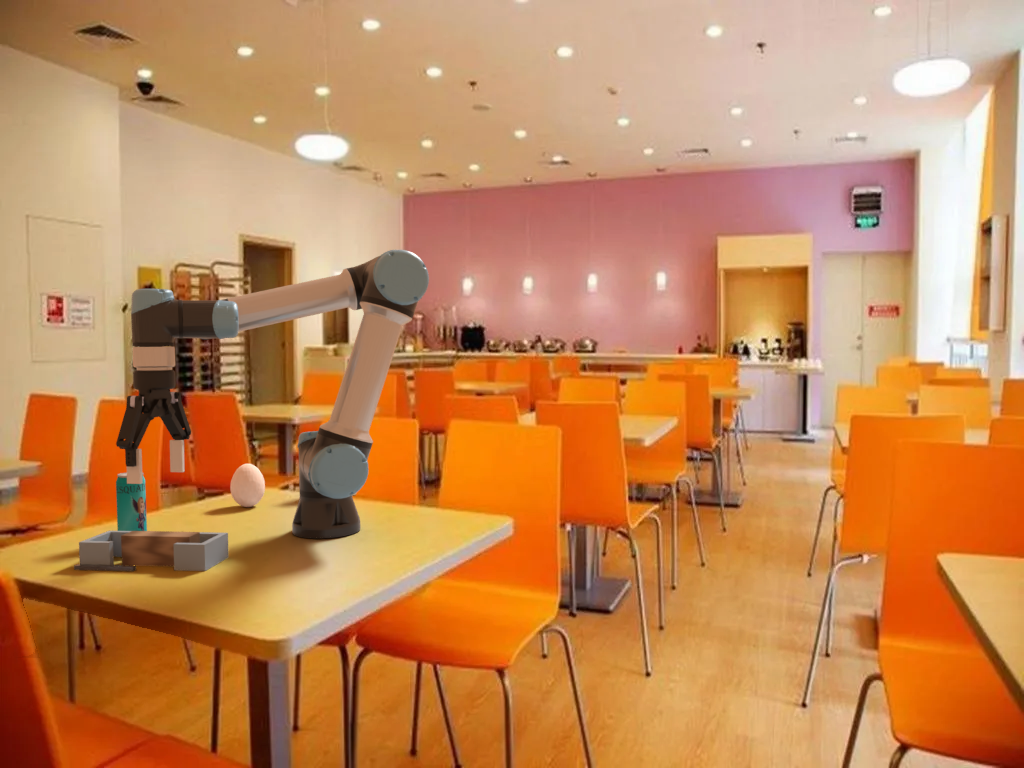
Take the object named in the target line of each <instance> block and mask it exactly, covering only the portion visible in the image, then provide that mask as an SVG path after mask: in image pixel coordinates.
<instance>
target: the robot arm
mask: <svg viewBox="0 0 1024 768" xmlns="http://www.w3.org/2000/svg"><path fill="white" fill-rule="evenodd" d="M429 275H430V274H429V271H428V267H426V264H425V263H424V261H423V260H422V259H421V257H420V256H418V255H417V254H416V253H414V252H412V251H409V250H406V249H389V250H387V251H385V252H383V253H382V254H380V255H379V256H375V257H374V258H371V259H370V260H368V261H366V262H364V263H361V264H359V265H356V266H355V265H354V266H351V267H347V268H344V269H342V271H341V273H339V274H336V275H331V276H327V277H322V278H318V279H313V280H309V281H307V280H306V281H304V282H299V283H294V284H288V285H283V286H279V287H275V288H269V289H265V290H260V291H255V292H251V293H247V294H241V295H237V296H233V297H228V298H223V299H218V300H217V299H216V300H212V299H211V300H209V299H208V300H207V299H206V300H205V299H204V300H201V299H199V300H197V299H196V300H195V299H194V300H191V299H190V300H189V299H188V300H182V299H175V296H174V292H173V291H172V290H171V289H166V288H165V289H164V288H138V289H135V290H134V291H133V292H132V293H131V306H130V307H131V309H130V317H131V319H130V320H131V321H130V322H131V338H132V339H131V340H132V341H131V342H132V344H131V345H132V367H134V368H136V370H134V371H133V372H132V383H133V389H134V390H138V395H127V396H126V406H125V411H124V413H123V419H122V422H121V426H120V428H119V432H118V435H117V438H116V441H115V442H116V443H115V445H116V447H118V448H119V449H120V450H124V452H125V454H124V455H125V456H124V457H125V467H126V473H127V484H142V483H143V482H142V472H143V454H142V453H143V451H142V448H139V446H140V445H141V443H142V440H143V439H144V436H145V434H146V431H147V429H148V427H149V424H150V423H151V422H152V421H153V420H154V419H155V418H158V417H159V418H160V419H161V421H162V423H163V424H164V426H165V428H166V430H167V431H168V433H169V434H170V436H171V438H172V439H170V440H169V465H170V466H169V472H170V473H185V440H190V436H191V435H192V429H191V426H190V422H189V420H188V417H187V413H186V411H185V409H184V404H183V402H182V401H183V400H182V393H181V391H171V390H173V389H175V388H176V371H175V370H174V369H173V368H175V367H176V349H175V348H176V347H175V339H201V340H211V339H218V340H219V339H220V340H222V339H223V340H225V339H233V338H234V339H235V338H236V337H237V336H238V334H239V332H244V331H247V330H253V329H256V328H257V329H258V328H262V327H266V326H270V325H274V324H280V323H284V322H289V321H293V320H298V319H303V318H307V317H311V316H314V315H319V314H324V313H329V312H334V311H338V310H342V309H346V308H349V309H351V310H353V311H359V310H362V311H363V312H362V313H363V315H362V318H361V322H360V325H359V329H358V331H357V334H356V336H355V340H354V343H353V346H352V350H351V353H350V356H349V359H348V362H347V365H346V369H345V371H344V375H343V377H342V380H341V383H340V387H339V389H338V393H337V396H336V399H335V402H334V405H333V409H332V411H331V414H330V417H329V420H328V421H327V422H324V423H322V424H320V426H319V428H318V430H316V431H315V430H313V431H305V432H304V431H303V432H301V433H300V434H299V436H298V441H297V449H298V482H299V500H298V503H297V507H296V509H295V513H294V518H293V520H292V523H291V524H292V525H291V527H292V529H291V530H292V534H293V535H294V536H295V537H299V538H304V539H305V538H306V539H332V538H334V539H335V538H341V537H345V536H346V537H347V536H351V535H353V534H356V533H358V532H359V531H360V530H361V518H360V515H359V512H358V509H357V507H356V504H355V500H354V498H353V496H354V495H353V494H355V493H356V494H357V493H358V492H359V491H360V490H361V489H362V488H363V487H364V485H366V484H365V483H366V482H367V480H368V475H369V462H368V460H369V455H370V453H371V450H372V446H373V443H374V440H373V439H372V437H371V435H370V429H371V426H372V422H373V420H374V416H375V414H376V411H377V407H378V403H379V401H380V398H381V395H382V391H383V389H384V385H385V382H386V379H387V376H388V373H389V370H390V366H391V363H392V361H393V358H394V353H395V351H396V349H397V345H398V341H399V339H400V335H401V332H402V329H403V326H405V325H406V324H408V323H410V322H413V319H414V318H413V317H414V315H415V311H416V308H417V305H418V302H419V301H420V300H421V299H422V298H423V296H425V294H426V292H427V290H428V287H429V283H430V282H429V281H430V276H429ZM352 495H353V496H352Z"/></svg>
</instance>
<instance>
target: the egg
mask: <svg viewBox="0 0 1024 768" xmlns="http://www.w3.org/2000/svg"><path fill="white" fill-rule="evenodd" d="M265 484H266V481H265V478H264V475H263V473H262V472H261V471H260V469H259V467H257V466H255V465H254V464H253V463H244V464H242V465H240V466H239V467H238V468H236V470H235V471H234V473H233V475H232V478H231V480H230V487H229V489H230V493H231V497H232V498H233V500H234V502H235V503H236V504H238V505H239V506H241V507H244V508H251V507H254V506H256V505H257V504H258V503H260V501H261V500H262V499H263V497H264V495H265V493H266V492H265V490H266V485H265Z"/></svg>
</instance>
